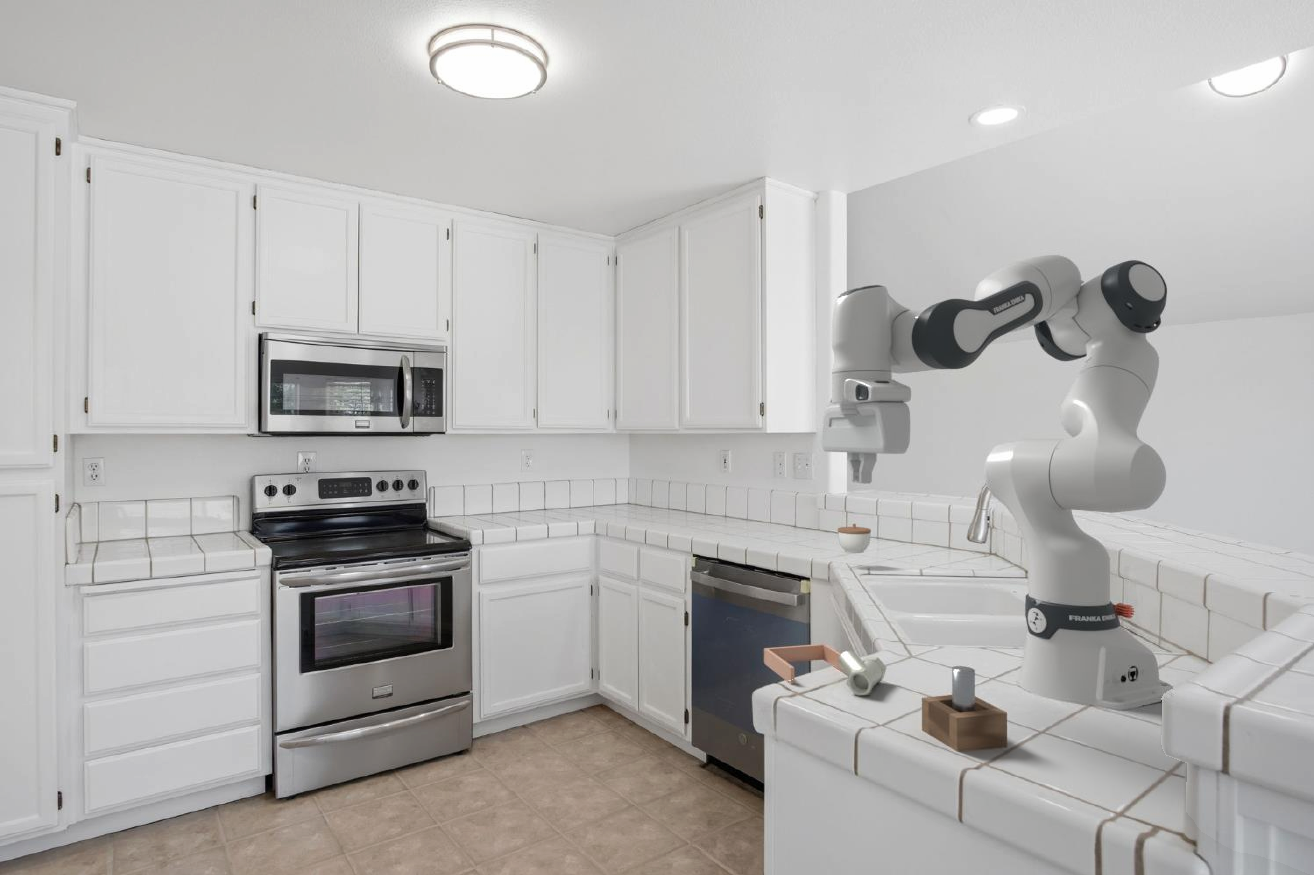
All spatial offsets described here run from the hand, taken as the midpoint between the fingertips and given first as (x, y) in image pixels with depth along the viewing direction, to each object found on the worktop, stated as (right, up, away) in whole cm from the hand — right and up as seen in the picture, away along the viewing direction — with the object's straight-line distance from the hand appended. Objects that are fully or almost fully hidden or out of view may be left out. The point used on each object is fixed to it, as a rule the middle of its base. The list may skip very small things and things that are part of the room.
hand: (861, 483), depth 110 cm
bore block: (+7, -31, -20) cm, 38 cm away
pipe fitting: (-4, -28, +2) cm, 28 cm away
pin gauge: (+7, -31, -20) cm, 38 cm away
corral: (-6, -31, +8) cm, 33 cm away
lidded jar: (+35, -32, +133) cm, 141 cm away
